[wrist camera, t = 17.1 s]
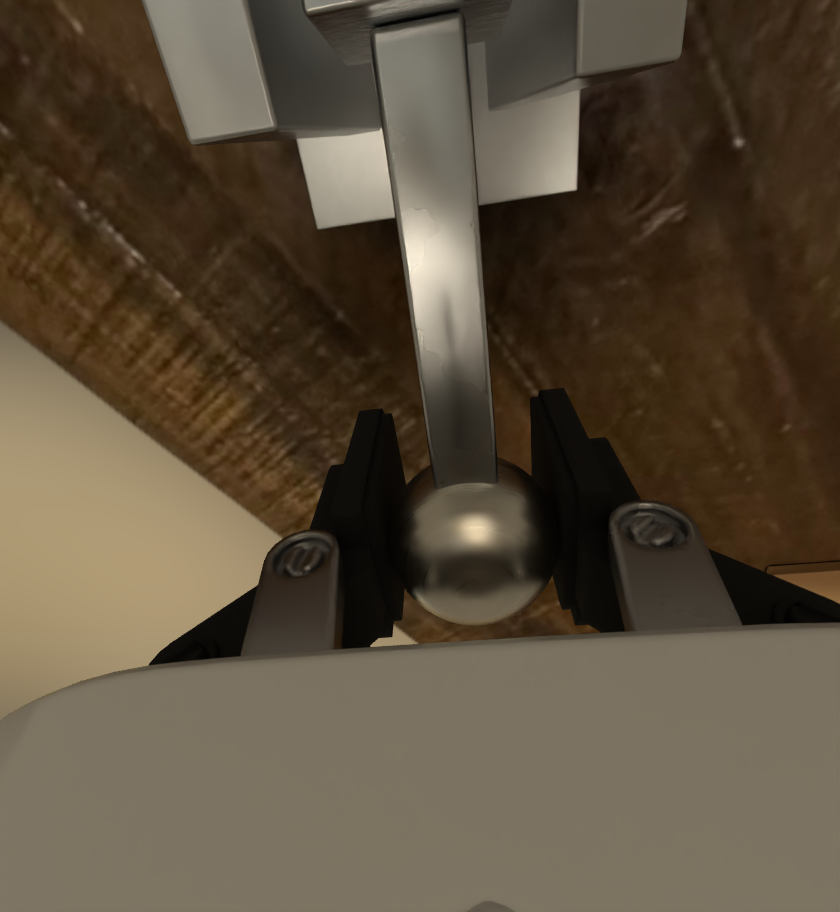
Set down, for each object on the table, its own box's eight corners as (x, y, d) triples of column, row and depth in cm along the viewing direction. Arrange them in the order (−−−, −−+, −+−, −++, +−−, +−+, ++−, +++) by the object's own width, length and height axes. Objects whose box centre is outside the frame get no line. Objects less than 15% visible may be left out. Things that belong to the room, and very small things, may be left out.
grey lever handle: (544, 543, 11) (575, 659, 9) (407, 554, 12) (395, 668, 9) (525, -260, 6) (598, -675, 3) (267, -196, 6) (117, -516, 3)
